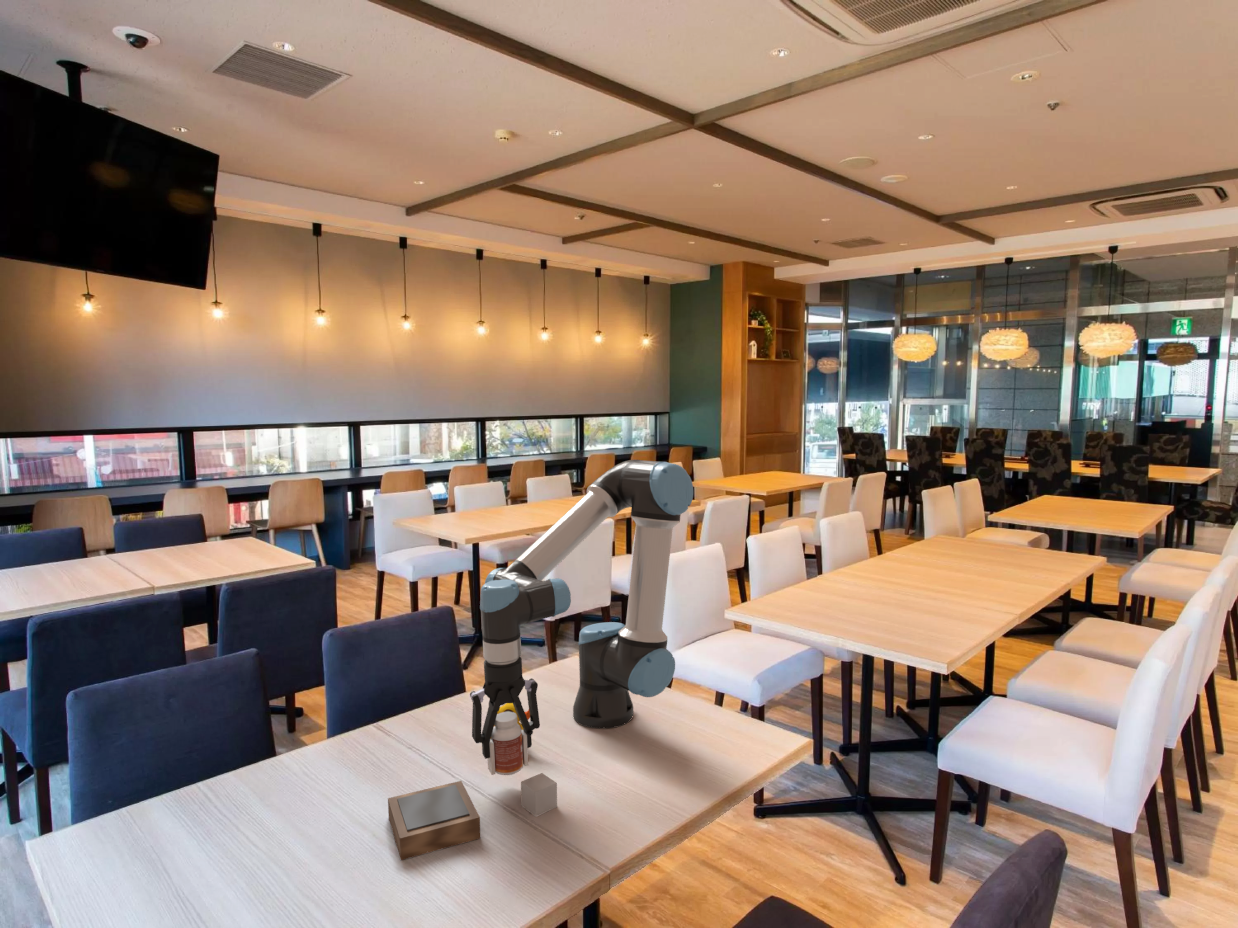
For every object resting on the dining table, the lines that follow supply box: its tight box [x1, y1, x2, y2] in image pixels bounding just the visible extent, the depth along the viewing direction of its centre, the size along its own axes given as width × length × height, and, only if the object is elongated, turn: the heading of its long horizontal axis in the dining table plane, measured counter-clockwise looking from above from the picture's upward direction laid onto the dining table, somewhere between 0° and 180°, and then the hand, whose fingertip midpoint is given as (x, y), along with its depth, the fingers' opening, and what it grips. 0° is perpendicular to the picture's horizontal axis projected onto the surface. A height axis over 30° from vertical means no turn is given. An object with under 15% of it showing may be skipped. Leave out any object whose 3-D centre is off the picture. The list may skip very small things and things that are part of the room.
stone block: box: [520, 772, 558, 817], centre depth 140 cm, size 5×5×5 cm
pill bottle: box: [491, 712, 524, 776], centre depth 146 cm, size 6×6×11 cm
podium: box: [387, 780, 481, 861], centre depth 133 cm, size 14×14×4 cm
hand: (508, 766), depth 147 cm, fingers closed on pill bottle, 6 cm apart
